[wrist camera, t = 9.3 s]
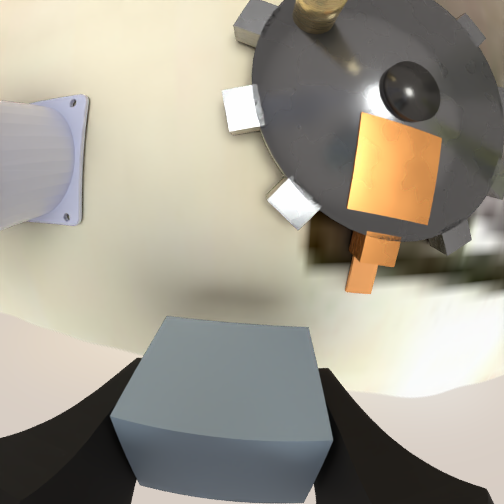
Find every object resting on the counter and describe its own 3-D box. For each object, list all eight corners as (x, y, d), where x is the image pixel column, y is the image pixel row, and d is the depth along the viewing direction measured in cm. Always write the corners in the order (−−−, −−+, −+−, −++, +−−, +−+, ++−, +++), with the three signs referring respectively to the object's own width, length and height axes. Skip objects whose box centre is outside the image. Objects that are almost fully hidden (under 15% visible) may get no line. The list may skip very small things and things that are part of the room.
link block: (174, 388, 11) (140, 485, 7) (167, 316, 10) (109, 416, 5) (294, 399, 11) (303, 502, 6) (308, 327, 10) (333, 440, 5)
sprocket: (396, 309, 17) (435, 358, 12) (159, 122, 14) (113, 106, 9) (523, 119, 13) (575, 119, 8) (344, -59, 10) (365, -106, 5)
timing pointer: (345, 290, 17) (346, 292, 17) (352, 254, 17) (354, 256, 16) (369, 292, 17) (370, 294, 17) (377, 257, 17) (379, 259, 16)
